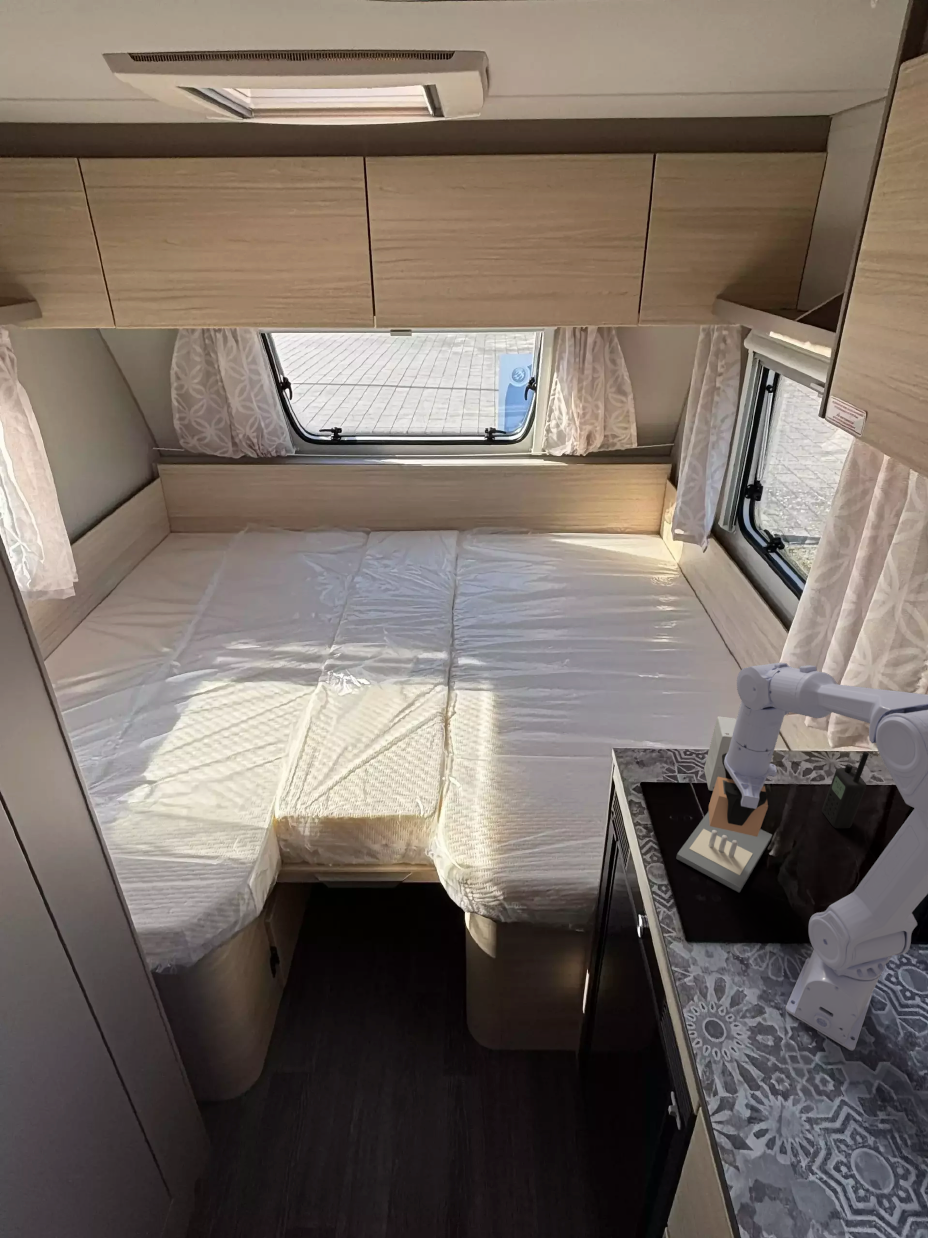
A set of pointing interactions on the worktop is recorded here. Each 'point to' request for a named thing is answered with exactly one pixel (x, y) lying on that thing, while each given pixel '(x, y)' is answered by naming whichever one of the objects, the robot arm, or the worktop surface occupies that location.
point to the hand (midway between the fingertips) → (733, 811)
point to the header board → (723, 853)
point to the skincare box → (718, 750)
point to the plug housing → (720, 807)
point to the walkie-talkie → (845, 795)
